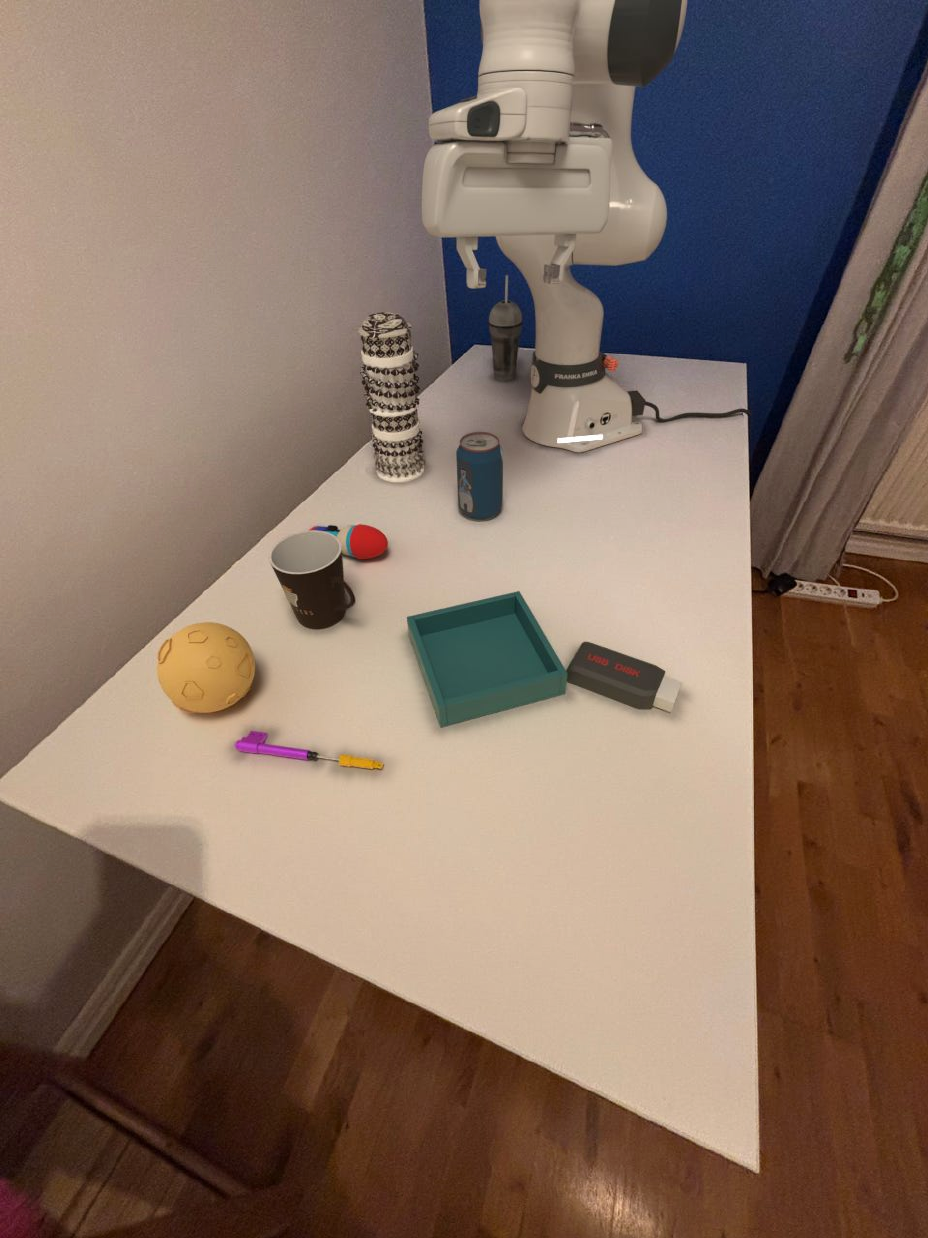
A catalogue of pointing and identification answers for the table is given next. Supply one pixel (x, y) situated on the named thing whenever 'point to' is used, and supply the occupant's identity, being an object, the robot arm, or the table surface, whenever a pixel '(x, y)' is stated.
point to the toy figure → (358, 540)
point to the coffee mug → (312, 577)
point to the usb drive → (622, 678)
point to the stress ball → (205, 667)
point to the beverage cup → (505, 337)
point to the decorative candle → (392, 396)
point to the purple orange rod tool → (297, 752)
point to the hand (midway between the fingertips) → (515, 285)
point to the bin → (484, 658)
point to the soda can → (480, 476)
